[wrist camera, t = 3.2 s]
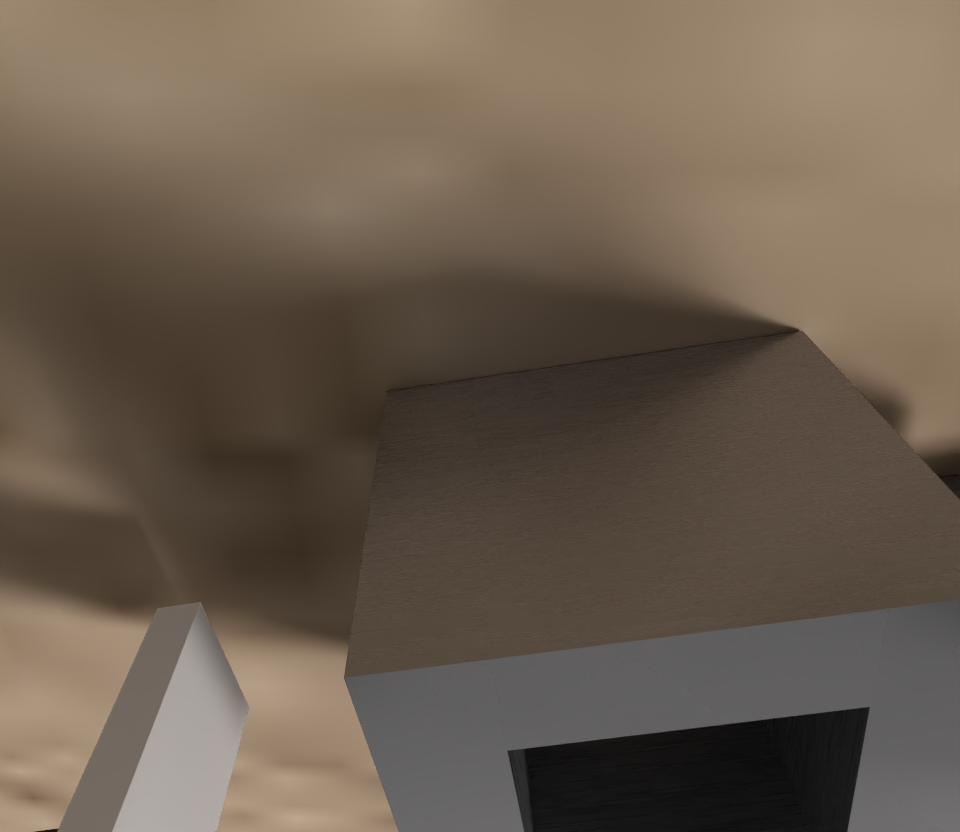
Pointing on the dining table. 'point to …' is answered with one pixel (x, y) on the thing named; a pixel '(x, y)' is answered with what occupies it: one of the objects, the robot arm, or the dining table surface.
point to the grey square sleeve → (659, 602)
